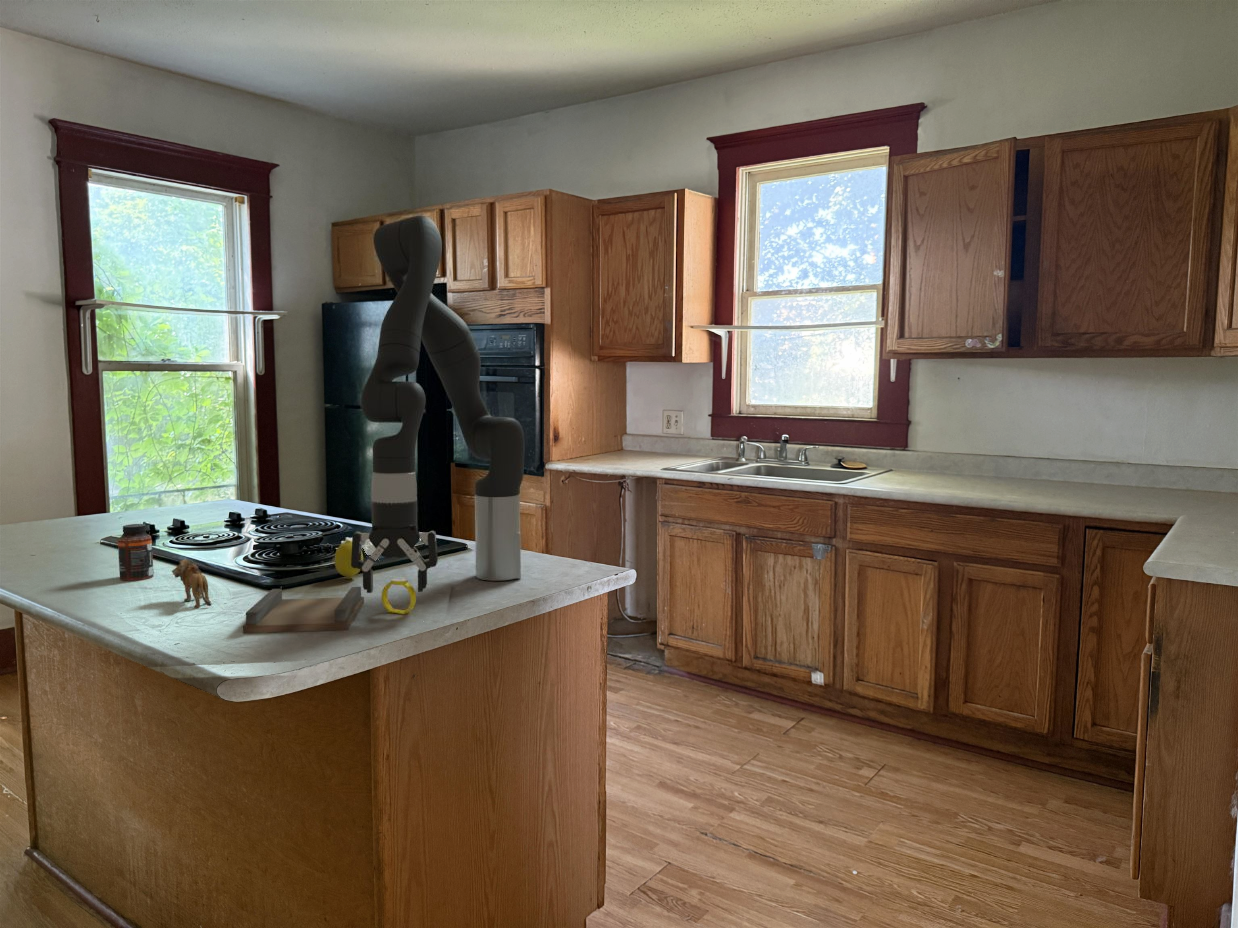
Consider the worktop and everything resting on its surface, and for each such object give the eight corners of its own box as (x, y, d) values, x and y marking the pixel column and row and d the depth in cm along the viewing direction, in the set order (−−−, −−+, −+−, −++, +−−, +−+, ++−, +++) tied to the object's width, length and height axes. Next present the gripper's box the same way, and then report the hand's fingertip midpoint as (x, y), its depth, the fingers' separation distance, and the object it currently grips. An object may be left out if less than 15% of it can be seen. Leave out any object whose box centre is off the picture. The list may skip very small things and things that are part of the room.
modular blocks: (341, 554, 200) (340, 537, 200) (371, 551, 204) (370, 535, 203) (355, 570, 183) (355, 552, 182) (388, 567, 186) (387, 549, 186)
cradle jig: (364, 603, 153) (363, 585, 152) (347, 629, 136) (347, 610, 136) (271, 606, 150) (270, 588, 150) (242, 633, 134) (242, 613, 133)
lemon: (355, 582, 169) (354, 543, 168) (329, 581, 170) (328, 542, 169) (368, 576, 174) (367, 538, 173) (343, 575, 175) (343, 537, 175)
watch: (379, 613, 146) (378, 579, 145) (388, 609, 148) (387, 576, 148) (410, 616, 144) (409, 581, 144) (418, 612, 147) (417, 578, 146)
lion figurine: (170, 599, 155) (168, 560, 155) (194, 594, 158) (193, 556, 158) (199, 610, 148) (197, 569, 147) (224, 605, 151) (222, 565, 150)
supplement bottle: (160, 579, 171) (158, 523, 170) (133, 585, 166) (130, 528, 165) (140, 576, 174) (138, 521, 173) (113, 582, 169) (110, 526, 168)
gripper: (438, 495, 149) (439, 586, 150) (355, 495, 147) (356, 587, 149) (434, 500, 142) (435, 595, 143) (347, 501, 140) (348, 597, 141)
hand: (395, 591), depth 146 cm, fingers open, 8 cm apart
